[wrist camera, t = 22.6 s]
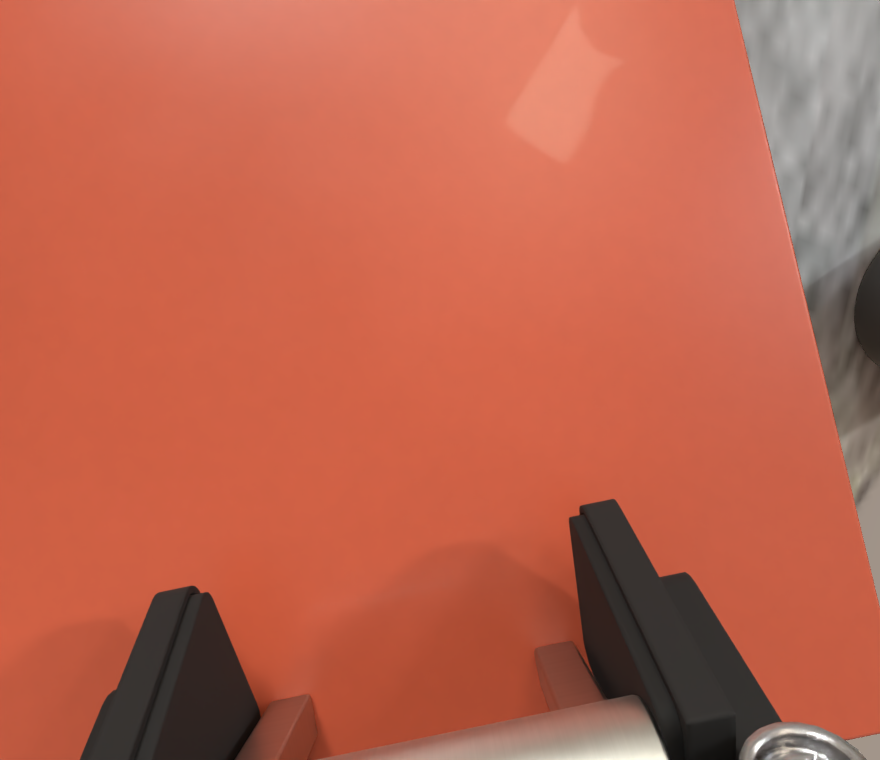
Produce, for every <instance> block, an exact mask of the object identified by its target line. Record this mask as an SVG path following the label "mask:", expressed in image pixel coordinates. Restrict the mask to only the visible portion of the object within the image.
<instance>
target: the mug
mask: <svg viewBox="0 0 880 760" xmlns="http://www.w3.org/2000/svg"><path fill="white" fill-rule="evenodd" d="M855 327H856V332H857V336H858V339H859V342H860V344H861V346H862V348H863V350H864V351H865V353H866V354H867V355H868V357H869V358H870V359H871V360H872V361H873V362H874V363H875V364H877V365H878V366H880V251H879V252H878V253H877V255H876V256H875V258H874V259H873V261H872V262H871V264H870V266H869V268H868V269H867V271H866V273H865V275H864V278H863V280H862V283H861V285H860V288H859V291H858V295H857V299H856V306H855Z"/></svg>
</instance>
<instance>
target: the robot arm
mask: <svg viewBox="0 0 880 760" xmlns="http://www.w3.org/2000/svg"><path fill="white" fill-rule="evenodd" d="M579 514H580V515H578V516H573V517H569V528H570V536H571V544H572V552H573V560H574V568H575V576H576V584H577V593H578V601H579V609H580V617H581V625H582V633H583V640H584V646H585V650H586V654H587V658H588V661H589V664H590V667H591V670H592V672H593V675H594V678H595V679H596V681H597V683H598V684H599V686H600V688H601V689H602V691H603V693H604V694H605V696H606V698H607V699H608V700H609V699H614V698H619V697H624V696H629V695H636V696H639V697H640V698H641V699H642V700H643V701H644V703H645V704H646V706H647V707H648V709H649V711H650V713H651V714H652V716H653V718H654V721H655V723H656V725H657V727H658V729H659V732H660V734H661V736H662V739H663V741H664V744H665V746H666V749H667V752H668V755H669V757H670V760H866V758H864V756H863V755H862V754H861V753H860V752H859V751H858V749H856V748H855V747H854V746H852V745H851V744H849V743H848V742H847V741H845V740H844V739H843V738H841V737H840V736H838V735H836V734H834V733H832V732H830V731H827V730H825V729H823V728H821V727H818V726H815V725H810V724H805V723H800V722H782V720H781V719H780V717H779V716H778V714H777V712H776V711H775V709H774V708H773V706H772V704H771V703H770V701H769V700H768V698H767V696H766V695H765V693H764V692H763V690H762V688H761V687H760V685H759V684H758V682H757V680H756V679H755V677H754V675H753V674H752V672H751V671H750V669H749V667H748V666H747V664H746V663H745V661H744V659H743V658H742V656H741V655H740V653H739V651H738V650H737V648H736V647H735V645H734V643H733V642H732V640H731V639H730V637H729V635H728V634H727V632H726V631H725V629H724V627H723V626H722V624H721V623H720V621H719V619H718V618H717V616H716V615H715V613H714V611H713V610H712V608H711V607H710V605H709V603H708V602H707V600H706V599H705V597H704V595H703V594H702V592H701V591H700V589H699V587H698V586H697V584H696V583H695V581H694V580H693V579H692V577H691V576H690V575H689V574H688V573H686V572H682V573H677V574H672V575H667V576H663V577H659V575H658V574H657V572H656V570H655V568H654V567H653V565H652V563H651V561H650V559H649V558H648V556H647V554H646V552H645V550H644V549H643V547H642V545H641V543H640V542H639V540H638V538H637V536H636V534H635V533H634V531H633V529H632V527H631V526H630V524H629V522H628V520H627V518H626V517H625V515H624V513H623V511H622V509H621V508H620V506H619V504H618V503H617V501H616V500H615V499H610V500H605V501H600V502H595V503H590V504H585V505H581V506H580V508H579ZM260 719H261V716H260V711H259V708H258V705H257V702H256V700H255V698H254V695H253V693H252V690H251V688H250V686H249V683H248V681H247V679H246V676H245V674H244V671H243V669H242V667H241V664H240V662H239V659H238V657H237V655H236V652H235V650H234V648H233V645H232V643H231V640H230V638H229V636H228V633H227V631H226V629H225V626H224V624H223V621H222V619H221V617H220V614H219V612H218V609H217V607H216V605H215V602H214V600H213V598H212V596H211V594H210V593H209V592H204V593H200V591H199V589H198V588H197V587H196V586H187V587H182V588H177V589H172V590H168V591H163V592H158V593H157V594H155V596H154V598H153V599H152V602H151V604H150V607H149V609H148V612H147V614H146V617H145V619H144V622H143V624H142V627H141V629H140V631H139V634H138V636H137V639H136V641H135V644H134V646H133V649H132V651H131V654H130V656H129V659H128V661H127V664H126V666H125V669H124V671H123V674H122V676H121V679H120V681H119V684H118V686H117V689H116V690H113V691H112V692H111V693H110V694H109V695H108V696H107V697H106V699H105V701H104V703H103V705H102V707H101V709H100V711H99V714H98V716H97V719H96V721H95V724H94V726H93V728H92V731H91V733H90V736H89V738H88V740H87V743H86V745H85V748H84V750H83V753H82V755H81V757H80V760H235V758H236V757H237V755H238V754H239V752H240V750H241V749H242V747H243V746H244V744H245V742H246V741H247V739H248V738H249V736H250V734H251V733H252V731H253V730H254V728H255V726H256V725H257V723H258V722H259V720H260Z"/></svg>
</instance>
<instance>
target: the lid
mask: <svg viewBox="0 0 880 760" xmlns="http://www.w3.org/2000/svg"><path fill="white" fill-rule="evenodd" d="M610 499H615V500H616V501H617V503H618V504H619V506H620V508H621V509H622V511H623V513H624V515H625V517H626V518H627V520H628V522H629V524H630V526H631V527H632V529H633V531H634V533H635V534H636V536H637V538H638V540H639V542H640V543H641V545H642V547H643V549H644V550H645V552H646V554H647V556H648V558H649V559H650V561H651V563H652V565H653V567H654V568H655V570H656V572H657V574H658V575H659V577H663V576H667V575H672V574H677V573H682V572H686V573H688V574H689V575H690V576H691V577H692V579H693V580H694V581H695V583H696V584H697V586H698V587H699V589H700V591H701V592H702V594H703V595H704V597H705V599H706V600H707V602H708V603H709V605H710V607H711V608H712V610H713V611H714V613H715V615H716V616H717V618H718V619H719V621H720V623H721V624H722V626H723V627H724V629H725V631H726V632H727V634H728V635H729V637H730V639H731V640H732V642H733V643H734V645H735V647H736V648H737V650H738V651H739V653H740V655H741V656H742V658H743V659H744V661H745V663H746V664H747V666H748V667H749V669H750V671H751V672H752V674H753V675H754V677H755V679H756V680H757V682H758V684H759V685H760V687H761V688H762V690H763V692H764V693H765V695H766V696H767V698H768V700H769V701H770V703H771V704H772V706H773V708H774V709H775V711H776V712H777V714H778V716H779V717H780V719H781V720H782V722H800V723H805V724H810V725H815V726H818V727H821V728H823V729H825V730H827V731H830V732H832V733H834V734H836V735H838V736H840V737H841V738H843V739H844V740H850V739H855V738H860V737H864V736H870V735H874V734H879V733H880V607H879V602H878V598H877V594H876V590H875V586H874V582H873V577H872V573H871V569H870V565H869V561H868V556H867V552H866V548H865V544H864V540H863V536H862V532H861V527H860V523H859V519H858V515H857V511H856V506H855V502H854V498H853V494H852V490H851V486H850V481H849V477H848V473H847V469H846V465H845V461H844V456H843V452H842V448H841V444H840V440H839V436H838V431H837V427H836V423H835V419H834V415H833V411H832V406H831V402H830V398H829V394H828V390H827V386H826V381H825V377H824V373H823V369H822V365H821V361H820V357H819V352H818V348H817V344H816V340H815V336H814V332H813V327H812V323H811V319H810V315H809V311H808V307H807V302H806V298H805V294H804V290H803V286H802V282H801V277H800V273H799V269H798V265H797V261H796V257H795V252H794V248H793V244H792V240H791V236H790V232H789V227H788V223H787V219H786V215H785V211H784V207H783V202H782V198H781V194H780V190H779V186H778V182H777V177H776V173H775V169H774V165H773V161H772V157H771V152H770V148H769V144H768V140H767V136H766V132H765V127H764V123H763V119H762V115H761V111H760V107H759V102H758V98H757V94H756V90H755V86H754V82H753V77H752V73H751V69H750V65H749V61H748V57H747V52H746V48H745V44H744V40H743V36H742V32H741V27H740V23H739V19H738V15H737V11H736V7H735V2H734V0H0V760H80V757H81V755H82V753H83V750H84V748H85V745H86V743H87V740H88V738H89V736H90V733H91V731H92V728H93V726H94V724H95V721H96V719H97V716H98V714H99V711H100V709H101V707H102V705H103V703H104V701H105V699H106V697H107V696H108V695H109V694H110V693H111V692H112V691H113V690H116V689H117V686H118V684H119V681H120V679H121V676H122V674H123V671H124V669H125V666H126V664H127V661H128V659H129V656H130V654H131V651H132V649H133V646H134V644H135V641H136V639H137V636H138V634H139V631H140V629H141V627H142V624H143V622H144V619H145V617H146V614H147V612H148V609H149V607H150V604H151V602H152V599H153V598H154V596H155V594H157V593H158V592H163V591H168V590H172V589H177V588H182V587H187V586H196V587H197V588H198V589H199V591H200V593H204V592H209V593H210V594H211V596H212V598H213V600H214V602H215V605H216V607H217V609H218V612H219V614H220V617H221V619H222V621H223V624H224V626H225V629H226V631H227V633H228V636H229V638H230V640H231V643H232V645H233V648H234V650H235V652H236V655H237V657H238V659H239V662H240V664H241V667H242V669H243V671H244V674H245V676H246V679H247V681H248V683H249V686H250V688H251V690H252V693H253V695H254V698H255V700H256V702H257V705H258V708H259V711H260V716H261V719H260V720H259V722H258V723H257V725H256V726H255V728H254V730H253V731H252V733H251V734H250V736H249V738H248V739H247V741H246V742H245V744H244V746H243V747H242V749H241V750H240V752H239V754H238V755H237V757H236V758H235V760H670V757H669V755H668V752H667V749H666V746H665V744H664V741H663V739H662V736H661V734H660V732H659V729H658V727H657V725H656V723H655V721H654V718H653V716H652V714H651V713H650V711H649V709H648V707H647V706H646V704H645V703H644V701H643V700H642V699H641V698H640V697H639V696H636V695H629V696H624V697H619V698H614V699H609V700H608V699H607V698H606V696H605V694H604V693H603V691H602V689H601V688H600V686H599V684H598V683H597V681H596V679H595V678H594V675H593V672H592V670H591V667H590V664H589V661H588V658H587V654H586V650H585V646H584V640H583V633H582V625H581V617H580V609H579V601H578V593H577V584H576V576H575V568H574V560H573V552H572V544H571V536H570V528H569V517H573V516H578V515H580V514H579V508H580V506H581V505H585V504H590V503H595V502H600V501H605V500H610Z"/></svg>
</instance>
